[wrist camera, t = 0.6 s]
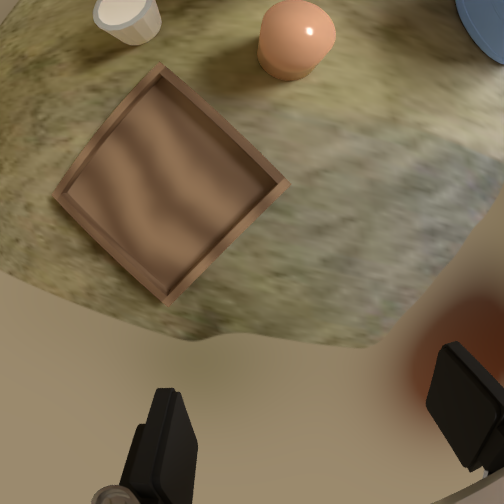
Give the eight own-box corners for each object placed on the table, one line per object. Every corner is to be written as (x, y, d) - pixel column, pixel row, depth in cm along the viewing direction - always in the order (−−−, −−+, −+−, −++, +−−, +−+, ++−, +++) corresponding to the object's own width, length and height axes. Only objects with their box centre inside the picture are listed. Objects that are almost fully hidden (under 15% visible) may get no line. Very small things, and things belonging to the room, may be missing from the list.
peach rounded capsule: (286, 19, 30) (297, -12, 22) (328, 57, 32) (350, 34, 24) (244, 52, 31) (245, 26, 23) (288, 92, 33) (301, 74, 25)
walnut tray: (164, 67, 31) (159, 61, 29) (288, 182, 36) (291, 184, 33) (61, 192, 35) (51, 195, 32) (172, 298, 39) (168, 307, 37)
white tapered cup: (112, 55, 30) (89, 37, 23) (116, 10, 28) (95, -12, 22) (166, 44, 30) (151, 22, 24) (167, 0, 28) (154, -27, 22)
